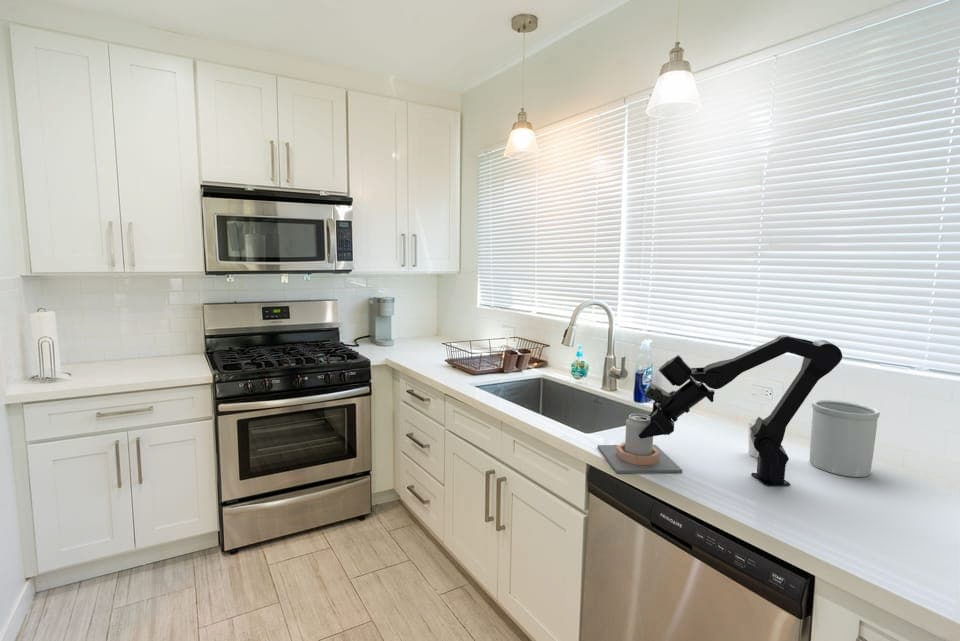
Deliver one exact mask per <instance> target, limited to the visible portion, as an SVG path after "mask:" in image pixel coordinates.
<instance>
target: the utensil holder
mask: <svg viewBox="0 0 960 641" xmlns="http://www.w3.org/2000/svg"><path fill="white" fill-rule="evenodd" d="M811 408H812V415H811V417H812V419H811V427H810V428H811V430H810V441H809V442H810V443H809V444H810V445H809V462H810V464H811V465H813V466H814V467H816V468H817V469H819V470H822V471H825V472H828V473H831V474H835V475H838V476H839V475H840V476H845V477H851V478H852V477H853V478H854V477H855V478H863V477H867V476H870V474H871V470H872V464H873V459H874V451H875V442H876V436H877V429H878V420H879V417H880V416H881V415H880V410H879V409H877V408H876V407H873V406H870V405H867V404H863V403H858V402H853V401H848V400H841V399H838V400H837V399H828V398H821V399H820V398H819V399H814V400H813V401H812V403H811Z"/></svg>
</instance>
